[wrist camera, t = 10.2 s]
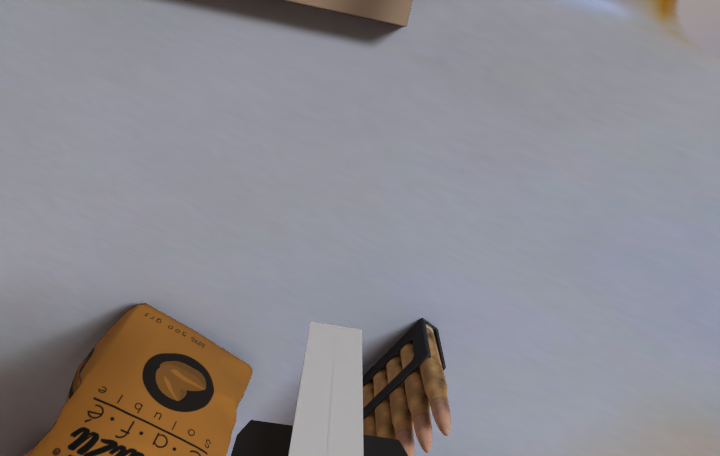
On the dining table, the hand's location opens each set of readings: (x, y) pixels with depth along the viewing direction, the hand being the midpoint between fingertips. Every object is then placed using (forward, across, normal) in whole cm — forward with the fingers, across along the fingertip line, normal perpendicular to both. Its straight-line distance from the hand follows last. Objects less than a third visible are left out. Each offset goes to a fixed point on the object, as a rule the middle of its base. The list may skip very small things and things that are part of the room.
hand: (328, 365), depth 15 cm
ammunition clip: (+25, +7, -17) cm, 31 cm away
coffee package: (+25, -11, -20) cm, 33 cm away
